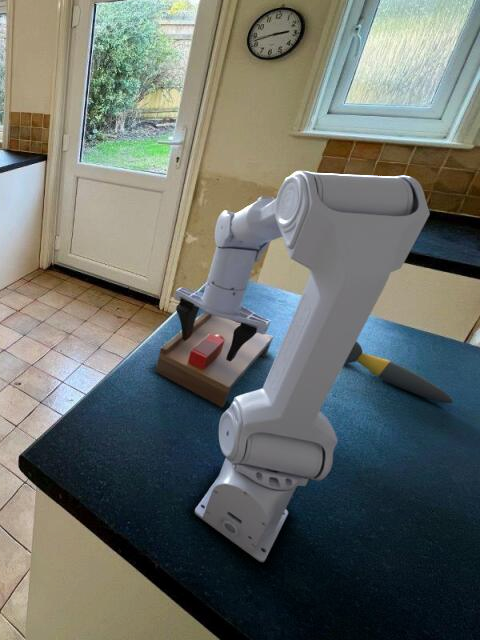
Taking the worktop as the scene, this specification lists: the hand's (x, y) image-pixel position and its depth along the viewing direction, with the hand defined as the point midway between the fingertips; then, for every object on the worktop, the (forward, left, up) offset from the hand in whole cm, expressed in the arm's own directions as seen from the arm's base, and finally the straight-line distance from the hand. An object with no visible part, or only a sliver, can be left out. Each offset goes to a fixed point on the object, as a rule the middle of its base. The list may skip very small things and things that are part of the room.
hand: (207, 347), depth 75 cm
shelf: (+6, 0, -7) cm, 9 cm away
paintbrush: (+26, -21, -7) cm, 34 cm away
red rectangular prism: (0, 0, -2) cm, 2 cm away
